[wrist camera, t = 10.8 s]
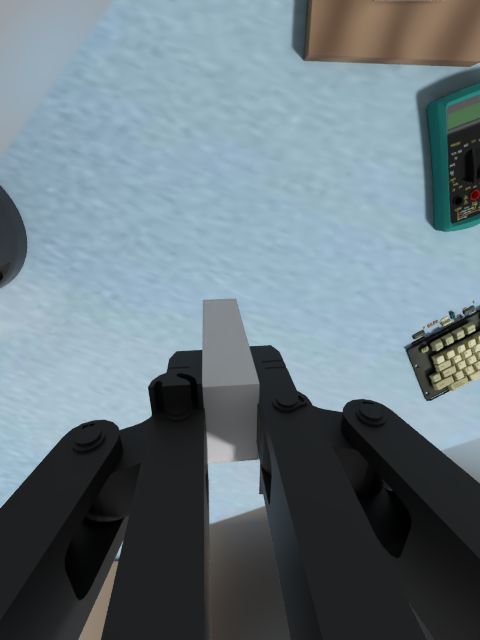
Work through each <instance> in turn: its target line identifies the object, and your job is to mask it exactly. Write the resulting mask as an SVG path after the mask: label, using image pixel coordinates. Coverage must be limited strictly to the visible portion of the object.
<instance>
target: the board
mask: <svg viewBox="0 0 480 640" xmlns="http://www.w3.org/2000/svg"><path fill="white" fill-rule="evenodd" d="M304 61H326V62H353V63H379V64H405V65H431V66H458V67H471V66H473V65H475V64H477V63H480V0H445V1H376V2H374V0H308V6H307V21H306V37H305V52H304Z"/></svg>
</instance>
